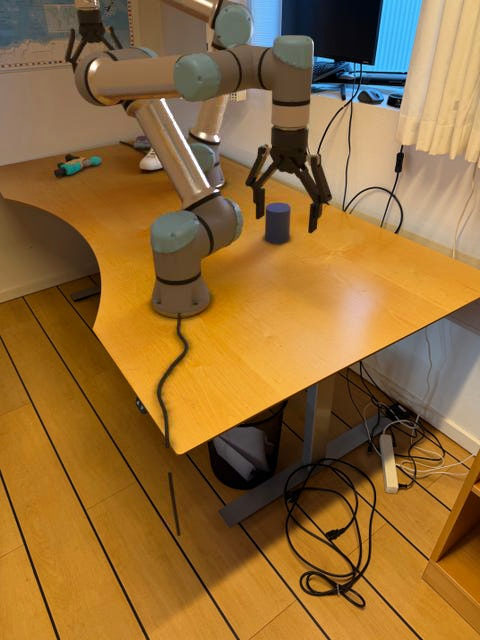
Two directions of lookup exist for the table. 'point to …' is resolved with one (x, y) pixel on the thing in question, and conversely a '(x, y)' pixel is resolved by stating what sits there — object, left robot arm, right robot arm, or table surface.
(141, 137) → the toy gun
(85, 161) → the toy gun
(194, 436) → the table surface
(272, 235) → the can
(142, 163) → the sneaker
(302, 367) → the table surface
